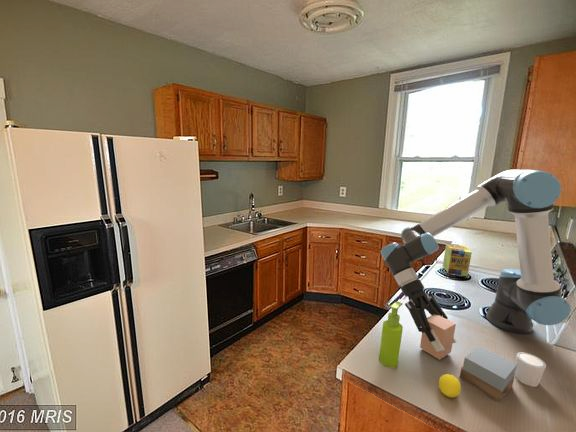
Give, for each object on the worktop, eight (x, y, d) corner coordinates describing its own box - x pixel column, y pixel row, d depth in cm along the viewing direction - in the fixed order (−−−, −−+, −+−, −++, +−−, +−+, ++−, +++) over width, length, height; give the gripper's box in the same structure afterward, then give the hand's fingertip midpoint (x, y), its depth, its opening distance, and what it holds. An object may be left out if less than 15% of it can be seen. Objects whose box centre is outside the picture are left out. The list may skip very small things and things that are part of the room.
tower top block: (476, 356, 89) (478, 345, 88) (514, 376, 81) (517, 364, 80) (462, 368, 83) (464, 357, 82) (502, 391, 75) (505, 379, 75)
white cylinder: (527, 371, 88) (531, 351, 87) (547, 388, 82) (553, 368, 80) (506, 370, 88) (510, 351, 87) (525, 388, 81) (530, 367, 80)
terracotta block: (431, 341, 100) (435, 313, 98) (450, 352, 94) (455, 323, 92) (419, 347, 96) (424, 319, 94) (439, 359, 91) (444, 329, 89)
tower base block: (474, 366, 90) (476, 356, 89) (511, 388, 82) (514, 376, 81) (459, 378, 85) (461, 367, 84) (496, 403, 76) (499, 390, 76)
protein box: (447, 274, 164) (451, 249, 161) (442, 265, 178) (446, 242, 175) (467, 277, 161) (472, 252, 158) (460, 268, 175) (464, 244, 172)
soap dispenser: (401, 359, 91) (409, 304, 87) (393, 370, 86) (401, 312, 82) (384, 350, 95) (391, 297, 91) (375, 361, 90) (382, 305, 86)
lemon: (457, 407, 75) (460, 392, 73) (435, 396, 78) (437, 381, 76) (461, 388, 80) (463, 374, 78) (440, 379, 83) (442, 364, 82)
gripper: (417, 281, 110) (453, 339, 100) (384, 292, 99) (421, 359, 89) (432, 273, 105) (471, 334, 94) (399, 284, 94) (439, 355, 84)
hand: (447, 346), depth 92 cm, fingers closed on terracotta block, 7 cm apart
